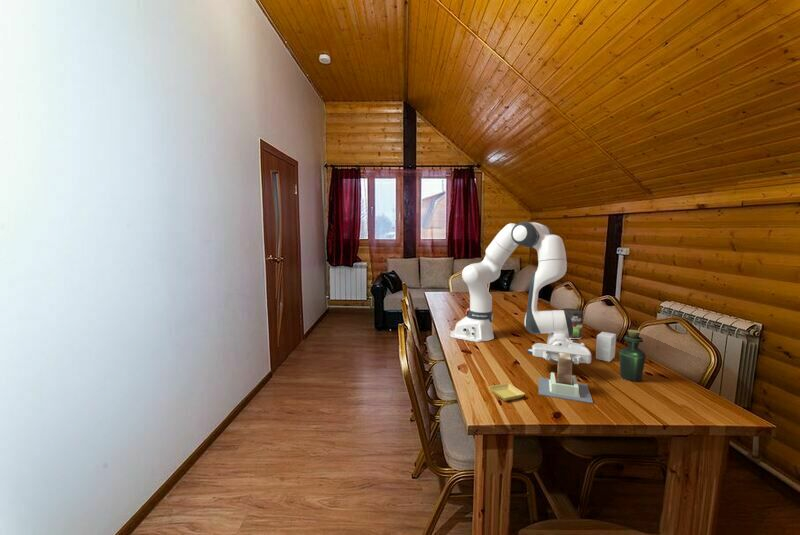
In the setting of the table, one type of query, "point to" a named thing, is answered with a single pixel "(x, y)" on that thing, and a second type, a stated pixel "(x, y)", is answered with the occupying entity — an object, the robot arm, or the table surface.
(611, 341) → the small box
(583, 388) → the mat
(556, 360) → the smartphone
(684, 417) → the table surface
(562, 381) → the tall wooden pillar
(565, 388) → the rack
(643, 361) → the potion bottle
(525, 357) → the table surface
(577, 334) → the coffee can
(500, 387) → the yellow square tray
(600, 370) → the table surface
